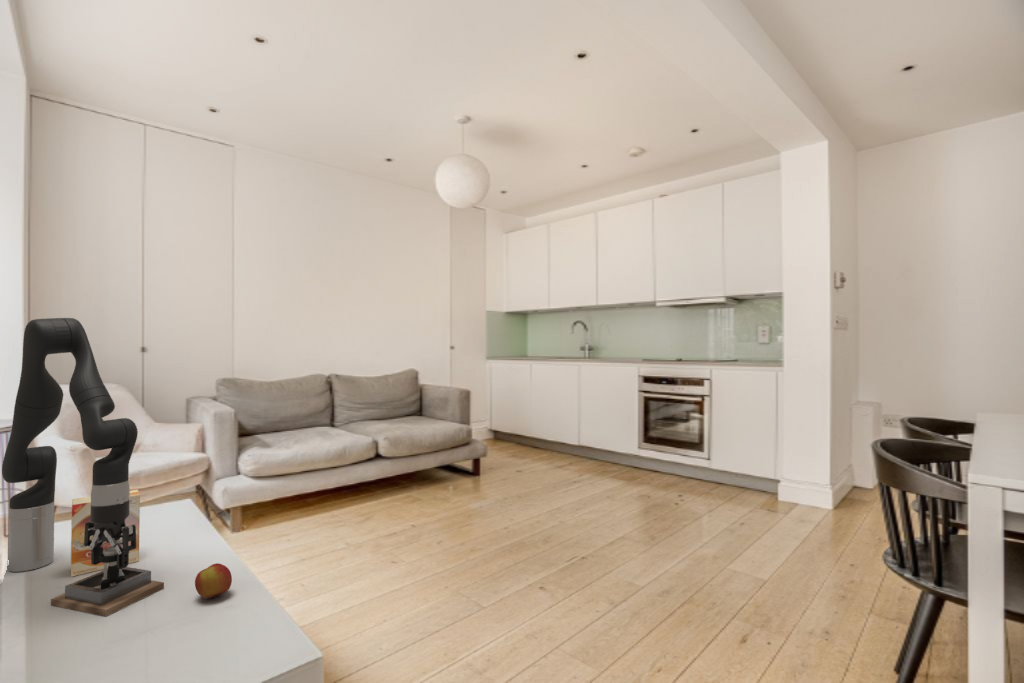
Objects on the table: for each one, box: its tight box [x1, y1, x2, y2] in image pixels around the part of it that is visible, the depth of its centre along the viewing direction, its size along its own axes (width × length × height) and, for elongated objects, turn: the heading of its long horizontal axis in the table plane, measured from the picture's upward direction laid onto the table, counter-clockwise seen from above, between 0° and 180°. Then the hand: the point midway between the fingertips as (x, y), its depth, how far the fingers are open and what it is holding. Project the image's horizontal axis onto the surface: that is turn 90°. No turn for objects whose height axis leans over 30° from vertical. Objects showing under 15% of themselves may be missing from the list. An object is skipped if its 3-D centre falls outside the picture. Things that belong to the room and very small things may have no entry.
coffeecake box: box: [70, 489, 141, 578], centre depth 142 cm, size 15×7×20 cm, turn 131°
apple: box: [194, 563, 233, 599], centre depth 123 cm, size 8×8×8 cm
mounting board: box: [50, 579, 165, 617], centre depth 123 cm, size 18×14×2 cm
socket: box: [64, 566, 152, 606], centre depth 124 cm, size 12×12×3 cm
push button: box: [93, 546, 125, 590], centre depth 124 cm, size 7×5×10 cm
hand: (109, 565), depth 124 cm, fingers open, 8 cm apart
